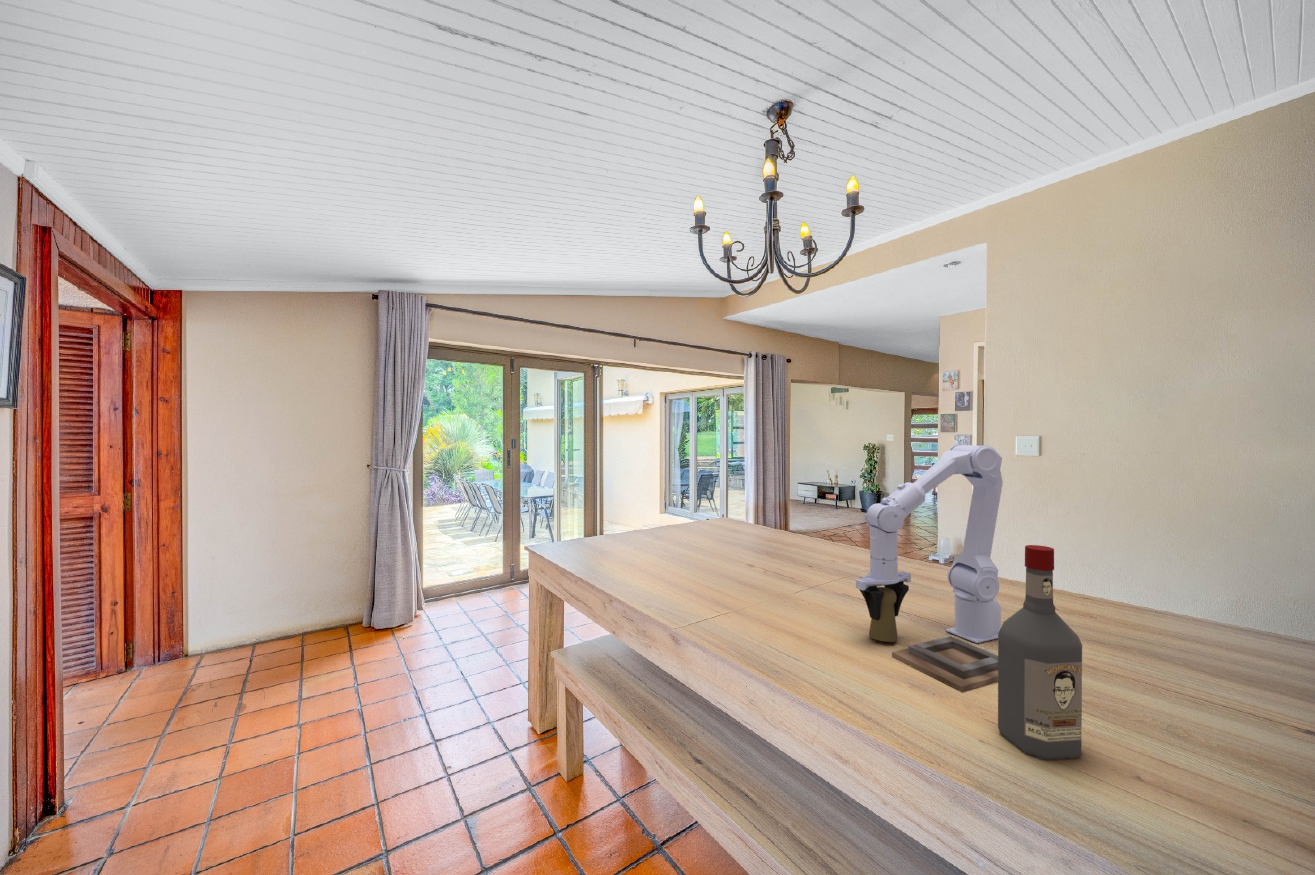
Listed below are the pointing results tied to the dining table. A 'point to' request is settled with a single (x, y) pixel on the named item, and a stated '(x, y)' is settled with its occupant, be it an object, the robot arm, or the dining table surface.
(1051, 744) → the liquor
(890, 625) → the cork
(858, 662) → the dining table surface
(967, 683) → the socket board
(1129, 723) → the dining table surface
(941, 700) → the dining table surface
